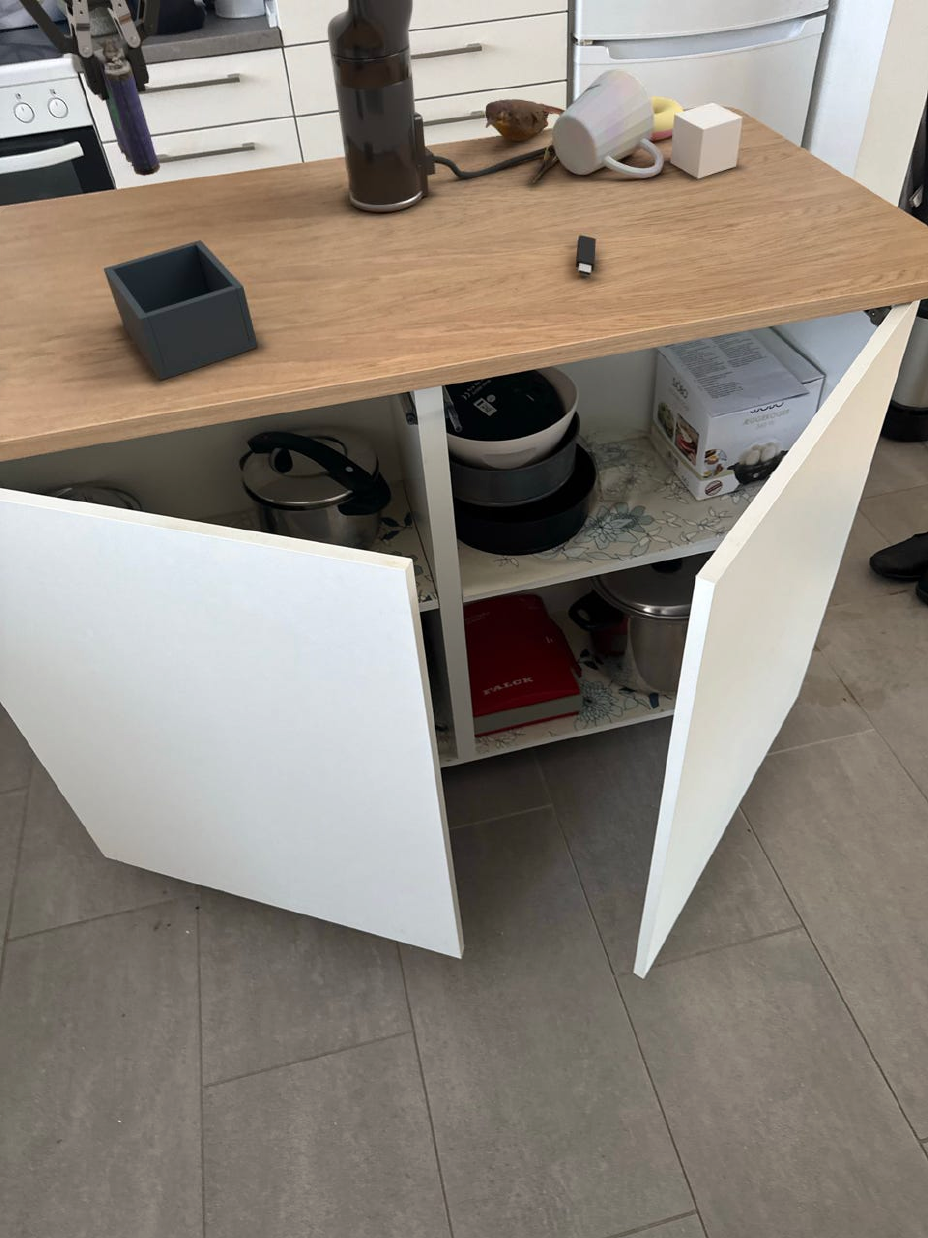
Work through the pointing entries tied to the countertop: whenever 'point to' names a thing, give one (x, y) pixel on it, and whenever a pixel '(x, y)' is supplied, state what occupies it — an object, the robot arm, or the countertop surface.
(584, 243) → the usb flash drive
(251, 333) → the box
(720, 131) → the white cube
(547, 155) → the brown clothespin
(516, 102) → the bird sculpture
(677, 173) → the countertop surface
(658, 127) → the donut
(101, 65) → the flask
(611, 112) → the mug
